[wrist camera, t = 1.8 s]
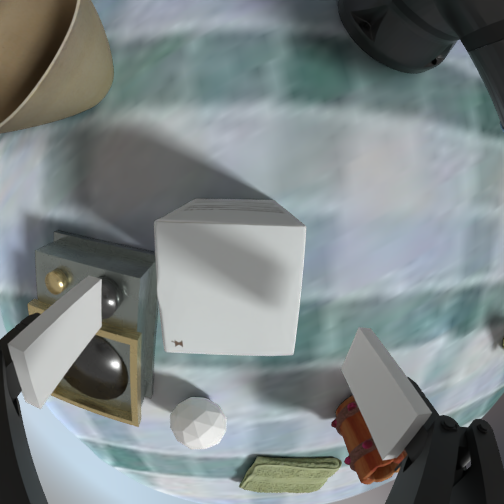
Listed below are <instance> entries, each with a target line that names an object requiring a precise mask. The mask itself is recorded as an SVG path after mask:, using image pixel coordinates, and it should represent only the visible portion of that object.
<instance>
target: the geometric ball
mask: <svg viewBox="0 0 504 504" xmlns="http://www.w3.org/2000/svg"><path fill="white" fill-rule="evenodd" d="M226 424H227V418H226V416H225V414H224V413H223V411H222V409H221V408H220V406H219V405H218V404H216V403H214V402H212V401H210V400H209V399H207V398H201V397H190V398H188V399H186V400H184V401H183V402H181V403H179V404H178V405H177V407H176V408H175V409H174V410H173V412H172V413H171V414H170V428H171V430H172V431H173V433H174V435H175V437H176V439H177V441H179V442H180V443H182V444H183V445H185V446H187V447H188V448H190V449H206V448H209V447H211V446H214V445H217V444H219V443H220V441H221V439H222V437H223V436H224V434H225V432H226Z"/></svg>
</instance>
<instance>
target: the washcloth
mask: <svg viewBox="0 0 504 504" xmlns="http://www.w3.org/2000/svg"><path fill="white" fill-rule="evenodd" d="M341 464H342V462H341V460H339V459H337V458H271V457H257V458H256V461H255V463H254V464H253V465H252V466H251V467H250V468H249V470H248V471H247V472H246V475H245V477H244V479H243V481H242V482H241V483H240V485H239V487H240V488H243V489H244V490H249V491H254V492H264V493H266V492H267V493H270V492H271V493H273V492H274V493H275V492H276V493H278V492H279V493H281V492H288V493H305V492H306V493H310V492H313V491H317V490H319V489H320V488H321V487H322V486H323V485H324V484H325V482H326V481H327V479H328V477H331V476H332V475H333V474H334V473H335V472H336V471H338V470H339V468H340V467H341Z"/></svg>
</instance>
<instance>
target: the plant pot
mask: <svg viewBox="0 0 504 504" xmlns="http://www.w3.org/2000/svg"><path fill="white" fill-rule="evenodd" d="M113 77H114V69H113V61H112V55H111V51H110V46H109V43H108V39H107V36H106V34H105V31H104V28H103V25H102V23H101V20H100V18H99V16H98V13H97V11H96V9H95V7H94V5H93V3H92V2H91V0H0V133H6V132H12V131H17V130H22V129H26V128H31V127H35V126H39V125H43V124H47V123H51V122H54V121H58V120H61V119H64V118H67V117H70V116H73V115H76V114H78V113H81V112H83V111H85V110H88V109H90V108H92V107H94V106H95V105H97V104H98V103H99V102H100V101H101V100H102V99H103V98H104V97H105V96H106V94H107V93H108V91H109V89H110V87H111V85H112V82H113Z"/></svg>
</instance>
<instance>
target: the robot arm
mask: <svg viewBox="0 0 504 504" xmlns="http://www.w3.org/2000/svg"><path fill="white" fill-rule="evenodd" d="M338 9H339V14H340V17H341V20H342V22H343V24H344V26H345V28H346V30H347V31H348V33H349V34H350V36H351V37H352V38H353V39H354V41H355V42H356V43H357V44H358V45H359V46H360V47H361V48H362V49H363V50H364V51H365V52H366V53H368V54H369V55H370V56H371V57H373V58H374V59H376V60H377V61H379V62H380V63H382V64H384V65H386V66H388V67H390V68H392V69H395V70H397V71H401V72H405V73H422V72H425V71H427V70H430V69H432V68H434V67H436V66H438V65H439V64H440V63H441V62H442V61H443V60H444V59H445V57H446V56H447V55H448V53H449V52H450V50H451V49H452V48H453V46H454V45H455V43H456V42H457V41H458V40H459V39H460V40H461V42H462V43H463V45H464V47H465V48H466V50H467V52H468V53H469V55H470V57H471V59H472V61H473V62H474V64H475V66H476V68H477V70H478V72H479V74H480V76H481V78H482V80H483V82H484V84H485V86H486V88H487V90H488V93H489V95H490V97H491V99H492V102H493V104H494V106H495V109H496V111H497V114H498V116H499V119H500V126H501V129H502V131H503V132H504V0H338ZM101 287H102V279H100V278H97V277H93V276H87V277H86V278H85V279H83V280H82V281H81V282H80V283H78V284H77V285H76V286H75V287H73V288H72V289H71V290H70V291H68V292H67V293H66V294H65V295H63V296H62V297H61V298H60V299H59V300H57V301H56V302H55V303H54V304H53V305H51V306H50V307H49V308H48V309H47V310H45V311H44V312H43V313H42V314H40V313H38V312H37V313H34V314H32V315H29V316H27V317H26V318H25V319H23V320H22V321H21V322H20V323H19V324H18V325H16V326H15V328H13V329H12V330H11V331H9V332H8V333H7V334H6V335H5V336H4V337H3V338H1V339H0V504H48V502H47V500H46V497H45V494H44V492H43V489H42V486H41V484H40V481H39V478H38V475H37V472H36V469H35V466H34V463H33V460H32V457H31V453H30V449H29V446H28V442H27V438H26V434H25V429H24V425H23V420H22V415H21V410H20V405H19V401H18V398H17V396H18V395H19V394H20V392H21V391H22V393H23V396H24V399H25V401H26V402H28V403H29V404H31V405H33V406H35V407H37V408H39V409H41V408H42V407H43V405H44V404H45V402H46V401H47V399H48V398H49V396H50V395H51V394H52V392H53V391H54V389H55V388H56V386H57V385H58V384H59V382H60V381H61V379H62V378H63V377H64V375H65V374H66V373H67V371H68V370H69V368H70V367H71V366H72V364H73V363H74V362H75V360H76V359H77V358H78V356H79V355H80V354H81V352H82V351H83V350H84V348H85V347H86V346H87V345H88V343H89V342H90V341H91V339H92V338H93V337H94V335H95V334H96V333H97V332H98V330H99V329H100V328H101V327H102V317H101ZM341 371H342V373H343V375H344V377H345V379H346V381H347V383H348V385H349V388H350V390H351V392H352V394H353V396H354V398H355V401H356V403H357V405H358V407H359V409H360V411H361V414H362V416H363V418H364V420H365V422H366V425H367V427H368V429H369V431H370V433H371V436H372V438H373V440H374V442H375V445H376V447H377V449H378V451H379V454H380V456H381V458H382V460H388V459H394V458H397V457H398V456H399V455H400V454H401V453H402V451H403V450H404V449H405V451H406V452H407V456H406V457H405V458H404V459H403V460H402V461H401V462H400V463H399V465H398V466H397V467H396V468H395V469H394V471H397V469H398V468H400V470H399V472H398V475H397V477H396V480H395V482H394V485H393V487H392V490H391V492H390V494H389V496H388V499H387V500H386V503H385V504H504V469H503V465H502V461H501V457H500V453H499V449H498V446H497V442H496V439H495V436H494V433H493V430H492V428H491V426H490V425H489V424H488V422H486V421H485V420H481V419H475V420H473V422H472V423H471V424H470V426H469V427H459V425H458V423H457V422H456V421H455V420H454V419H453V418H451V417H449V416H445V415H442V416H439V414H438V413H437V411H436V410H435V409H434V407H433V406H432V404H431V403H430V402H429V400H428V399H427V398H426V396H425V395H424V393H423V392H421V391H422V390H421V389H420V388H419V386H418V385H417V384H416V383H415V382H414V381H413V380H411V379H410V378H409V377H406V375H405V374H404V372H403V371H402V370H401V368H400V367H399V366H398V364H397V363H396V361H395V360H394V359H393V357H392V356H391V355H390V353H389V352H388V351H387V349H386V348H385V347H384V345H383V344H382V343H381V341H380V340H379V339H378V337H377V336H376V335H375V333H374V332H373V331H372V330H371V329H370V328H361V327H359V328H358V330H357V333H356V335H355V338H354V340H353V342H352V345H351V347H350V349H349V352H348V354H347V356H346V358H345V361H344V363H343V365H342V367H341ZM470 460H471V466H470V467H469V468H468V469H466V465H467V464H468V462H469V461H470Z"/></svg>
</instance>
